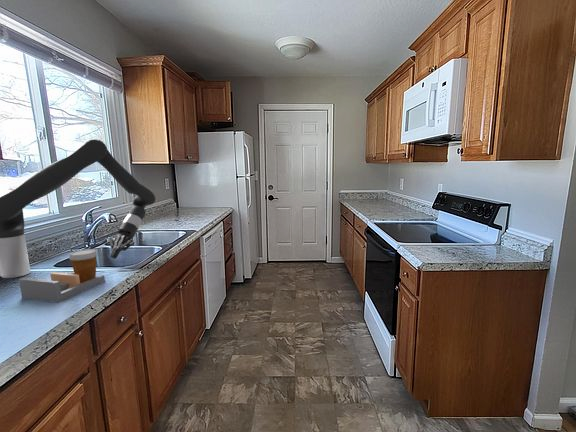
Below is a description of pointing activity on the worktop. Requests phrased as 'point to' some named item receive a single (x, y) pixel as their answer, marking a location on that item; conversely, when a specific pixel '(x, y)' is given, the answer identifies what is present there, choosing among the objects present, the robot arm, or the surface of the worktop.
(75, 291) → the grey shallow tray
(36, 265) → the worktop surface
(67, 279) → the pusher plate
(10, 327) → the worktop surface
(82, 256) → the disposable coffee cup
